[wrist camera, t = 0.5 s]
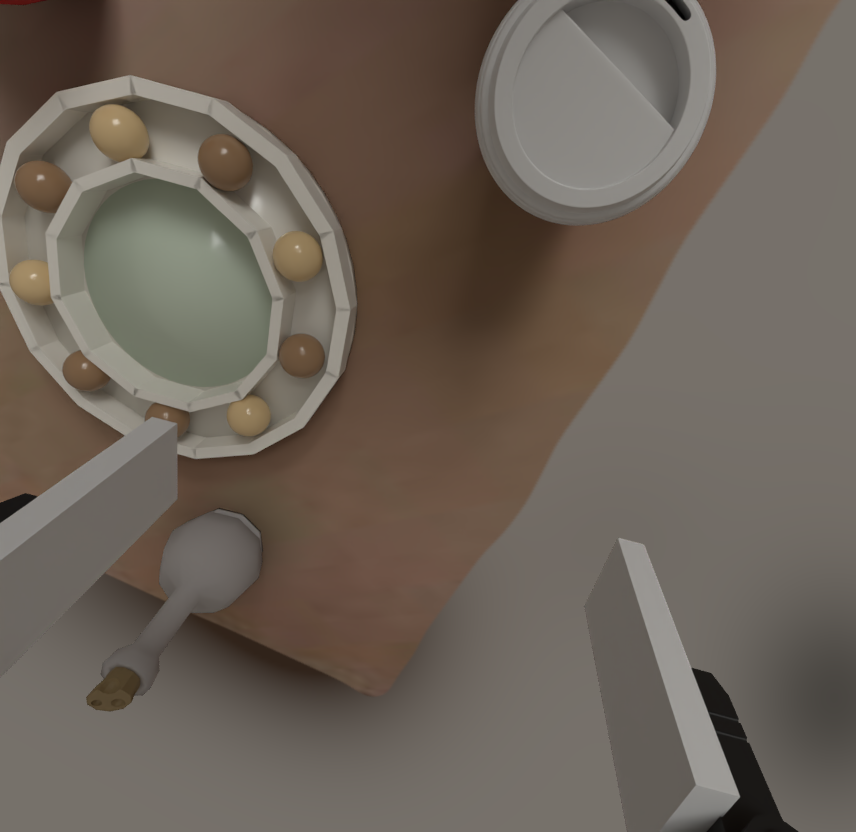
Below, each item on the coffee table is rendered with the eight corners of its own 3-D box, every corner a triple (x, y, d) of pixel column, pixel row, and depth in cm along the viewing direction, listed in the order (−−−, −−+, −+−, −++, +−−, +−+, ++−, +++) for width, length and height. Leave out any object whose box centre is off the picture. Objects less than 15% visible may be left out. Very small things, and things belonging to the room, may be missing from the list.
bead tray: (5, 41, 35) (-58, 23, 31) (389, 145, 35) (375, 141, 31) (41, 394, 47) (-1, 414, 43) (328, 474, 46) (312, 502, 43)
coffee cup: (658, 163, 33) (766, 154, 20) (519, 234, 36) (531, 269, 23) (605, 1, 30) (690, -140, 17) (458, 94, 33) (429, 37, 19)
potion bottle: (186, 491, 49) (34, 645, 33) (276, 514, 49) (166, 680, 33) (186, 560, 53) (49, 728, 37) (269, 581, 53) (168, 760, 37)
